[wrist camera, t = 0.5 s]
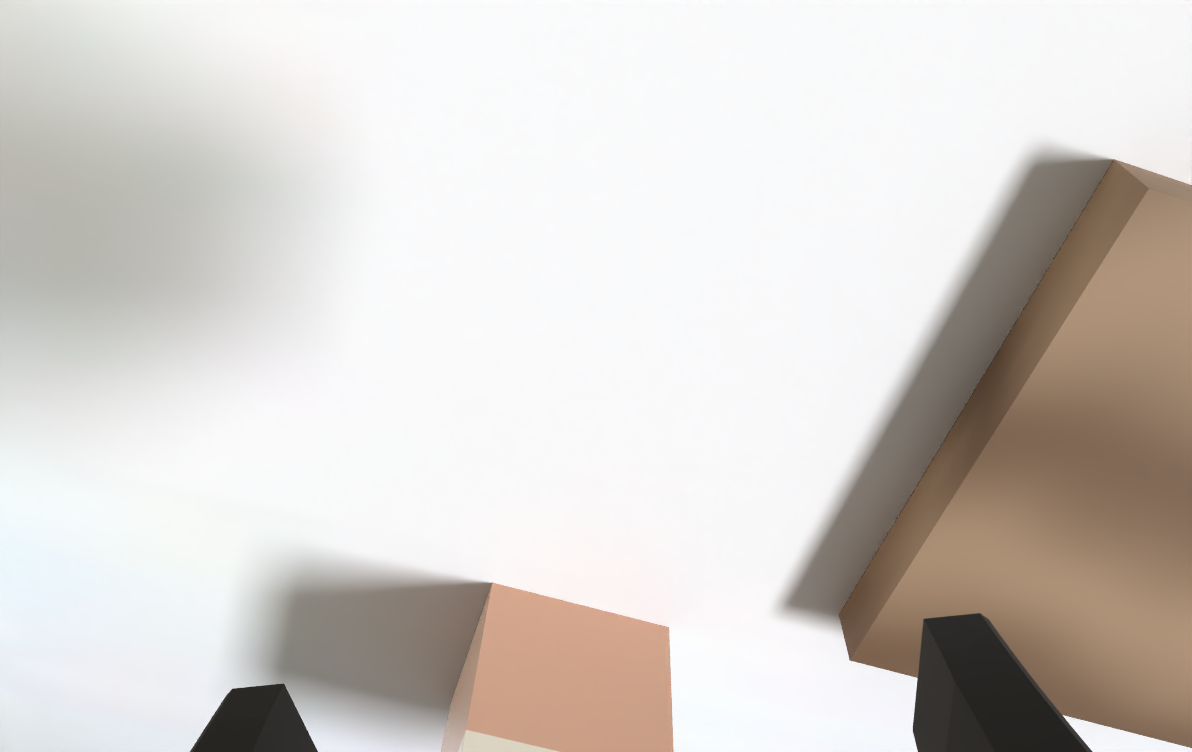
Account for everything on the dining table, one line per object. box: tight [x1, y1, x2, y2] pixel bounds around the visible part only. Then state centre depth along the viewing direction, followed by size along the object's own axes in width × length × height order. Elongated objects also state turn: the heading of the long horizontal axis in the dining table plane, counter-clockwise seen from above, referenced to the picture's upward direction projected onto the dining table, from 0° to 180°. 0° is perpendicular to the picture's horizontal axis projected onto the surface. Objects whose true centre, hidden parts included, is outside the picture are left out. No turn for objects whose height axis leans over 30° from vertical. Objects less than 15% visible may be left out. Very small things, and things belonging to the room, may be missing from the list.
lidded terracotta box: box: [441, 583, 673, 752], centre depth 24 cm, size 4×4×5 cm
